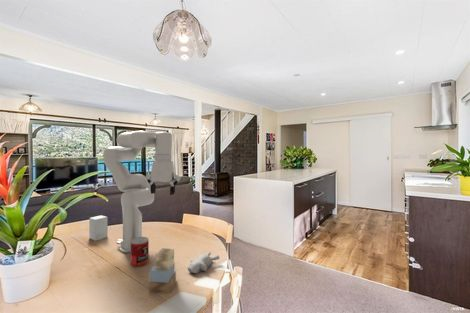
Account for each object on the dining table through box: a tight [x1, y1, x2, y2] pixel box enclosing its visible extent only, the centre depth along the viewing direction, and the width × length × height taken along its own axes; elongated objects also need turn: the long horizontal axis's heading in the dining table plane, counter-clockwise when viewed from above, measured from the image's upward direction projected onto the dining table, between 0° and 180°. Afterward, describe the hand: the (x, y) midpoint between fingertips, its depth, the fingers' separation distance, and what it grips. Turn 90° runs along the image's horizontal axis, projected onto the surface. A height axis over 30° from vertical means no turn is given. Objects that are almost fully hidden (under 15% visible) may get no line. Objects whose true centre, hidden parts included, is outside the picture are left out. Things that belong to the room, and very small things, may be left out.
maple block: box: [155, 247, 175, 270], centre depth 88 cm, size 5×5×6 cm
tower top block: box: [149, 264, 175, 283], centre depth 88 cm, size 7×7×4 cm
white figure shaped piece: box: [187, 251, 220, 275], centre depth 103 cm, size 10×5×15 cm
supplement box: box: [89, 214, 109, 242], centre depth 138 cm, size 7×7×13 cm
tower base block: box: [148, 270, 177, 294], centre depth 88 cm, size 8×8×4 cm
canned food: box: [130, 236, 150, 268], centre depth 107 cm, size 8×8×11 cm
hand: (162, 193), depth 108 cm, fingers open, 9 cm apart
